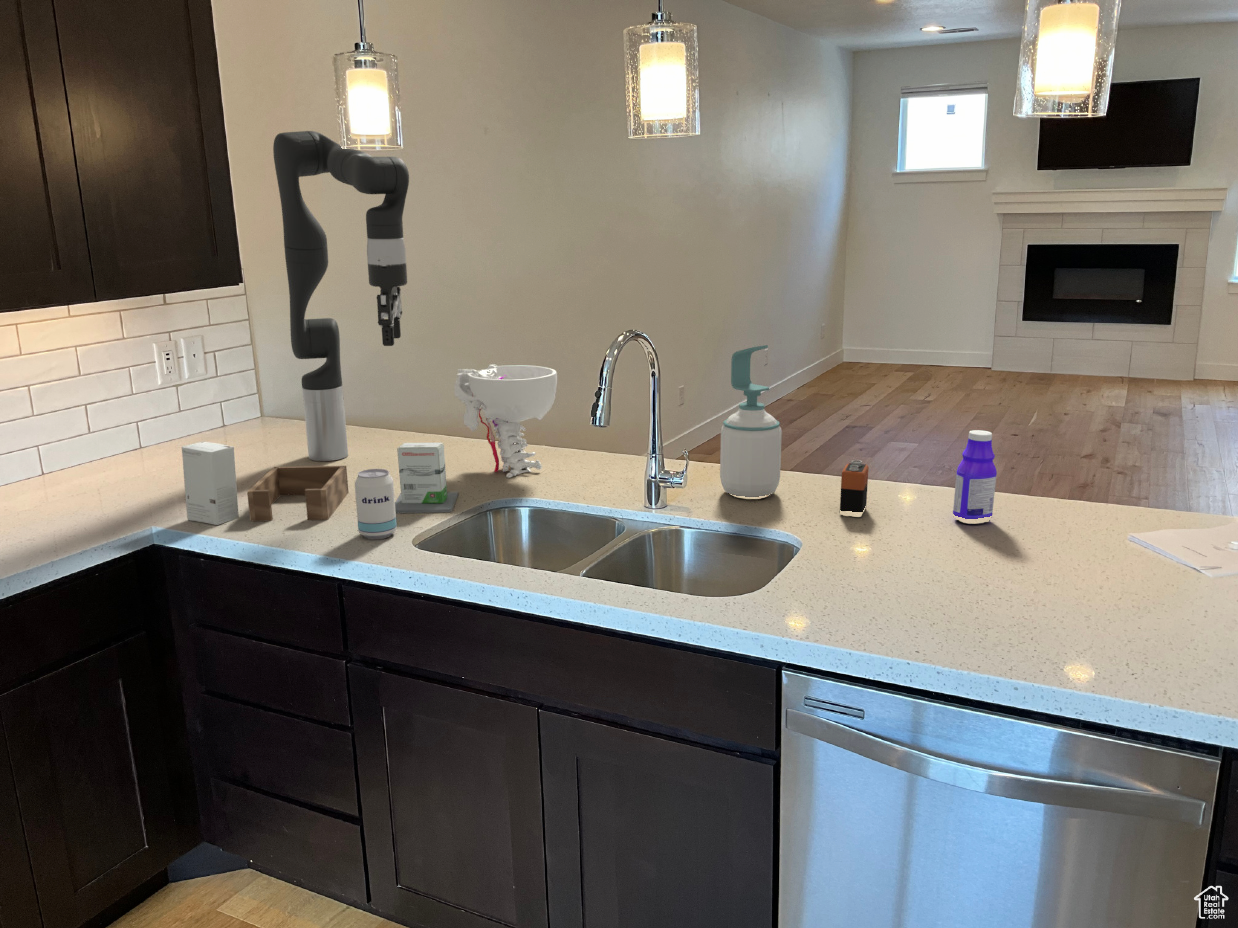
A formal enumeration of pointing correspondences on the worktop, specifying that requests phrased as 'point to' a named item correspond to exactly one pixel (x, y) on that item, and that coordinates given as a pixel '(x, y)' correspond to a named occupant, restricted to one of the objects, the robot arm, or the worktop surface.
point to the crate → (300, 490)
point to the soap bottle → (749, 438)
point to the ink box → (422, 473)
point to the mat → (427, 505)
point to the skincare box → (210, 482)
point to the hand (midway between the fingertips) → (392, 341)
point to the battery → (854, 486)
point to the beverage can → (375, 503)
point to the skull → (507, 407)
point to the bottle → (976, 478)
